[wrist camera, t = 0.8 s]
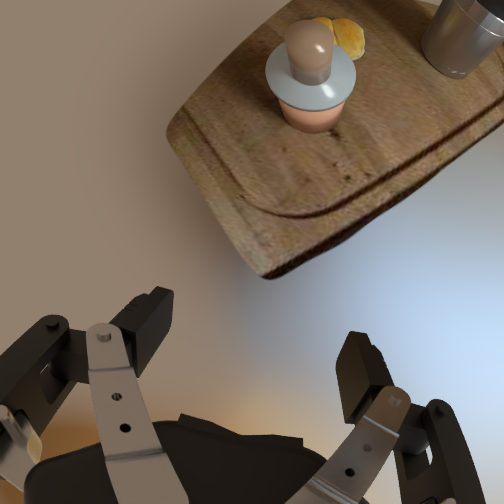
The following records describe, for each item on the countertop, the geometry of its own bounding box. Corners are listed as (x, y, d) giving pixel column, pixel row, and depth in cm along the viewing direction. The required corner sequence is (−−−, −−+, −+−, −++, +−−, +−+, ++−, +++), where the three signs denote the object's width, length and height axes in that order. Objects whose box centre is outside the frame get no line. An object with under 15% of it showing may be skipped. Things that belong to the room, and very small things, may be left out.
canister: (286, 77, 33) (278, 42, 24) (344, 86, 31) (351, 52, 23) (276, 128, 34) (266, 102, 25) (338, 138, 32) (346, 115, 24)
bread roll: (301, 23, 31) (299, 7, 27) (359, 26, 29) (362, 11, 25) (303, 63, 32) (302, 48, 28) (366, 67, 30) (371, 53, 26)
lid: (275, 42, 25) (263, -1, 17) (355, 54, 23) (365, 11, 15) (261, 108, 26) (243, 73, 18) (349, 123, 25) (362, 89, 17)
